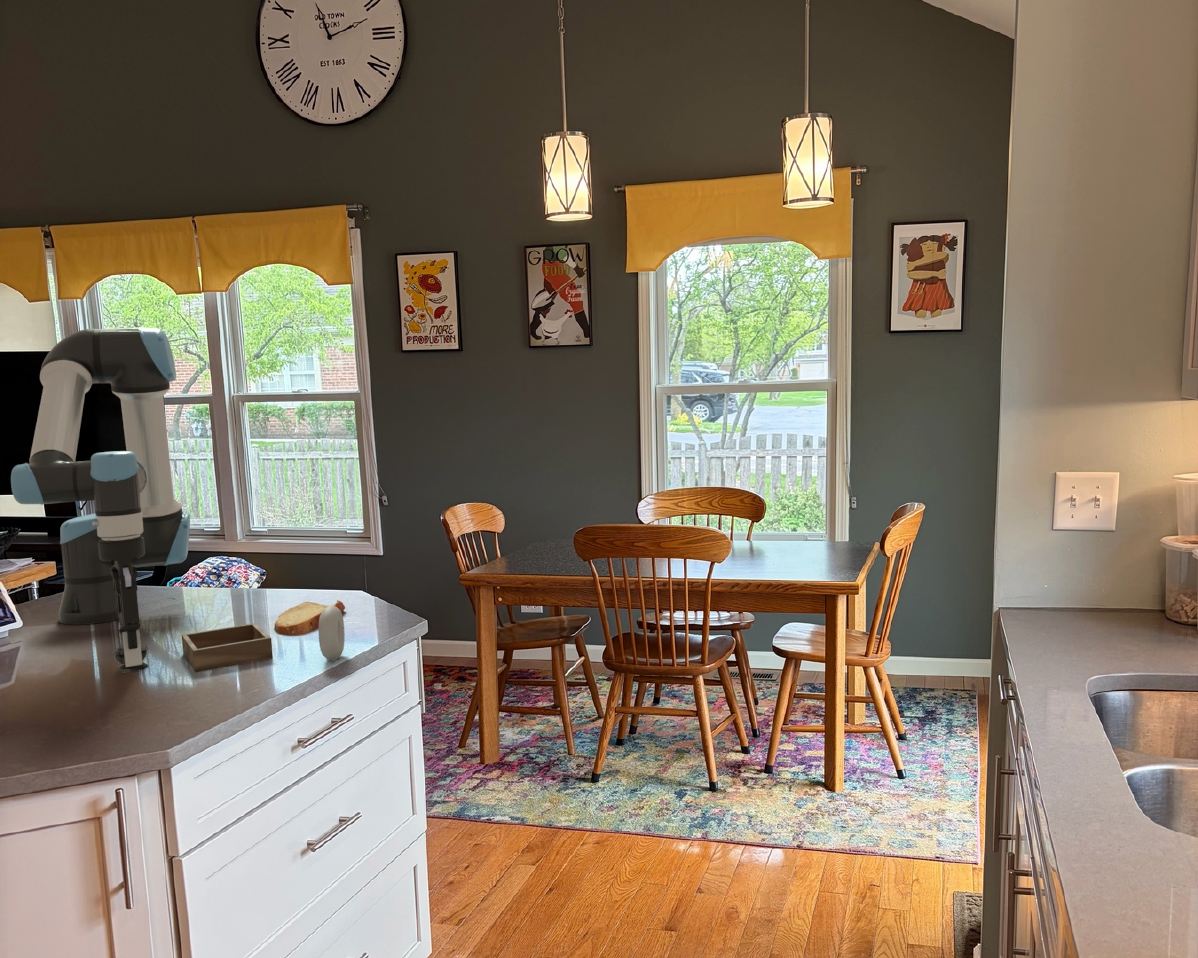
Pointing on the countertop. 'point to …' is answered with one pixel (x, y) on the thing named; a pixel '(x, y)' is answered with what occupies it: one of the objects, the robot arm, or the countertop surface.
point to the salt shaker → (121, 657)
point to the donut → (331, 633)
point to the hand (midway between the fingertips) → (131, 660)
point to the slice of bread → (302, 618)
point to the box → (226, 647)
